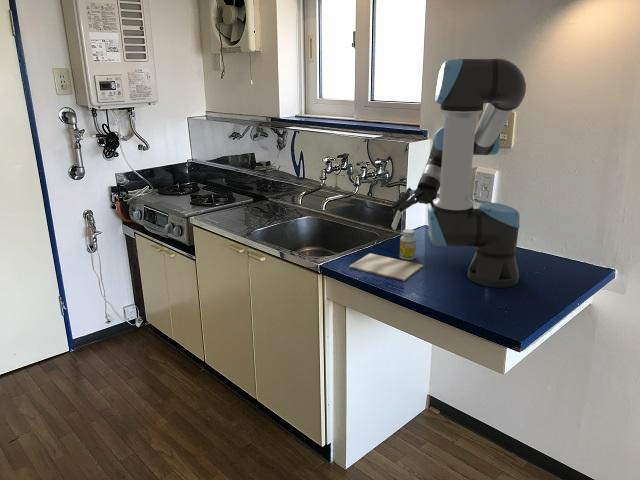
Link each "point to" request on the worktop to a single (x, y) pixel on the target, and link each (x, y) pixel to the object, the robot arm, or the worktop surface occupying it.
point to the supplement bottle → (407, 245)
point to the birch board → (386, 266)
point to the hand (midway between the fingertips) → (410, 231)
